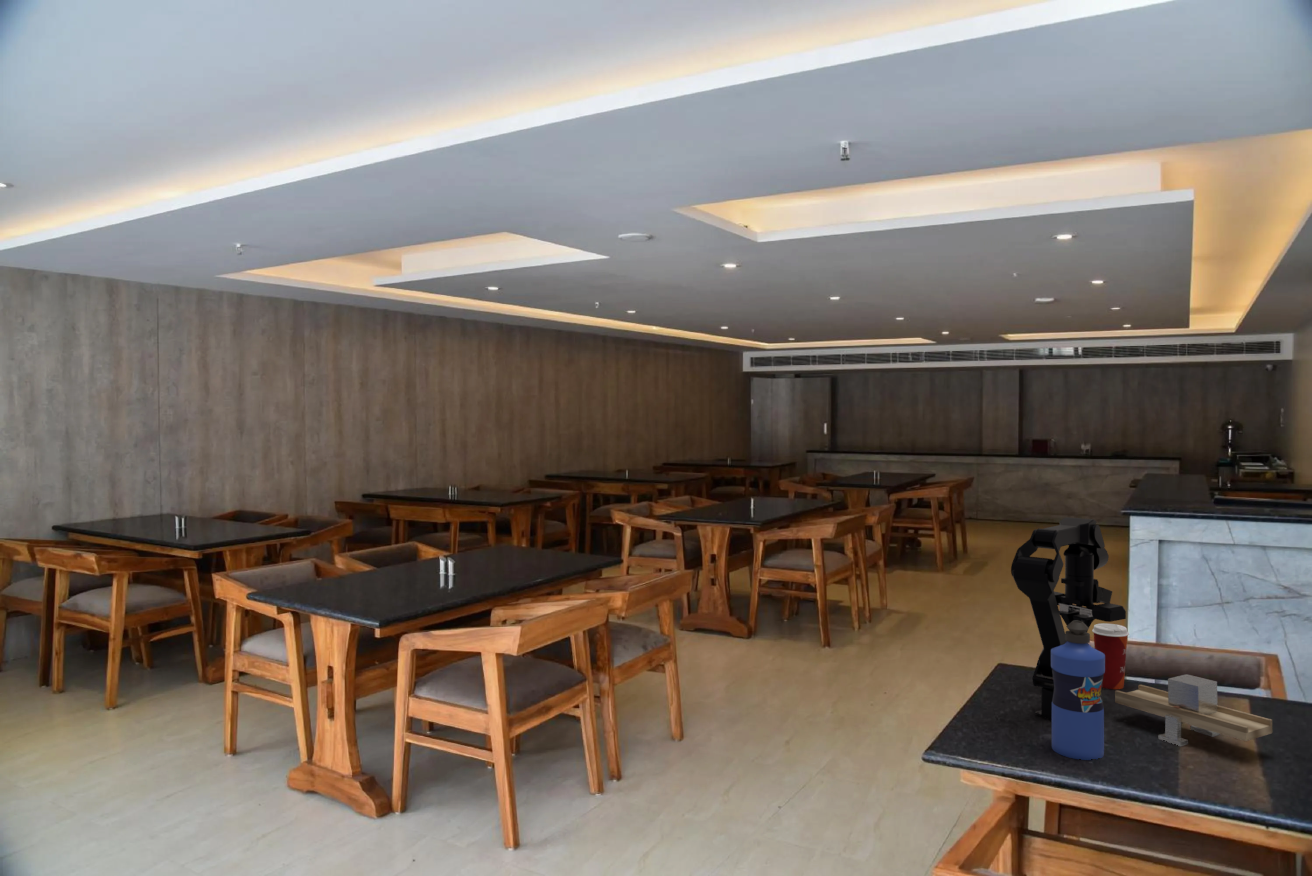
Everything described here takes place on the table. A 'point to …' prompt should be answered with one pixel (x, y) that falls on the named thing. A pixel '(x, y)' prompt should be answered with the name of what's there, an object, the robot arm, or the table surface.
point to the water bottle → (1077, 696)
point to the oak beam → (1197, 714)
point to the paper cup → (1112, 652)
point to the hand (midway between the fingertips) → (1079, 644)
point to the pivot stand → (1179, 731)
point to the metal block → (1193, 694)
